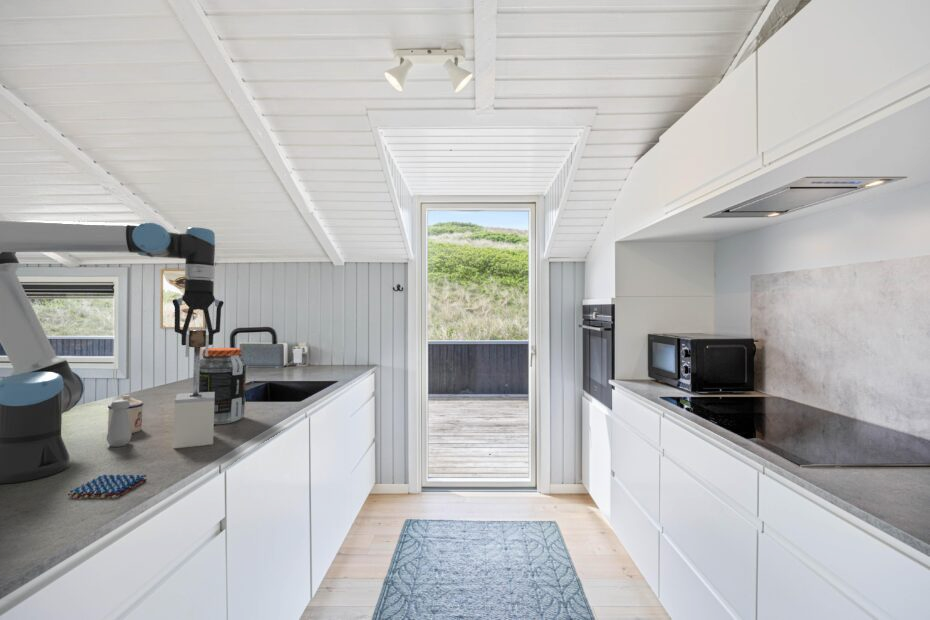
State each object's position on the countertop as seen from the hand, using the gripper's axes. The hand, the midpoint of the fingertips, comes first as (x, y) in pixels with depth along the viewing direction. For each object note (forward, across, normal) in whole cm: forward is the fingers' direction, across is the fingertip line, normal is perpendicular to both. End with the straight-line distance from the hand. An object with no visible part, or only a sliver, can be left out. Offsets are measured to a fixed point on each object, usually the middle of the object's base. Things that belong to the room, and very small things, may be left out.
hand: (197, 355), depth 134 cm
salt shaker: (+26, -19, +5) cm, 33 cm away
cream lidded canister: (+26, -20, +22) cm, 40 cm away
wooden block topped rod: (+16, 0, 0) cm, 16 cm away
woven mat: (+27, -15, -32) cm, 44 cm away
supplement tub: (+26, +7, +25) cm, 37 cm away
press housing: (+26, 0, 0) cm, 26 cm away
